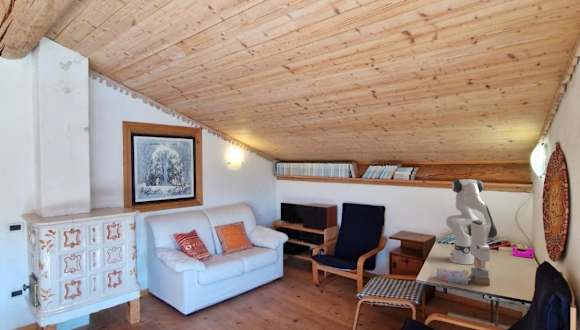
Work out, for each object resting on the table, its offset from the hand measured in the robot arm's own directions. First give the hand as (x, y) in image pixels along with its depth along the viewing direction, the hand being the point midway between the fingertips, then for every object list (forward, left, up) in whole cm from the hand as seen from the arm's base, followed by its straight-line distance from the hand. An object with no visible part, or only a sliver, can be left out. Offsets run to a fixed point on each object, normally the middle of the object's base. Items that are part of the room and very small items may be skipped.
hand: (479, 264), depth 231 cm
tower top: (0, 0, -8) cm, 8 cm away
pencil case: (-2, -18, -13) cm, 22 cm away
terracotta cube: (0, 0, -2) cm, 2 cm away
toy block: (-70, +70, -13) cm, 100 cm away
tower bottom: (0, 0, -13) cm, 13 cm away
